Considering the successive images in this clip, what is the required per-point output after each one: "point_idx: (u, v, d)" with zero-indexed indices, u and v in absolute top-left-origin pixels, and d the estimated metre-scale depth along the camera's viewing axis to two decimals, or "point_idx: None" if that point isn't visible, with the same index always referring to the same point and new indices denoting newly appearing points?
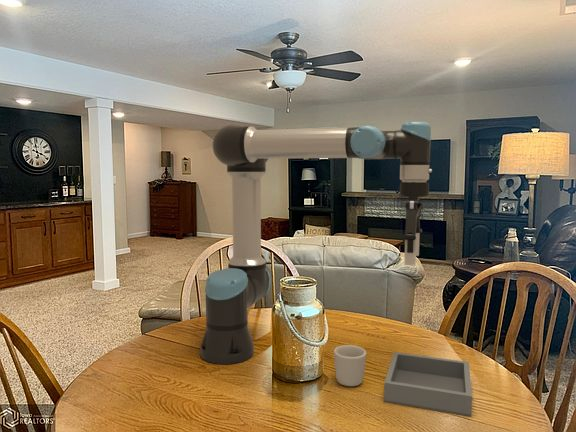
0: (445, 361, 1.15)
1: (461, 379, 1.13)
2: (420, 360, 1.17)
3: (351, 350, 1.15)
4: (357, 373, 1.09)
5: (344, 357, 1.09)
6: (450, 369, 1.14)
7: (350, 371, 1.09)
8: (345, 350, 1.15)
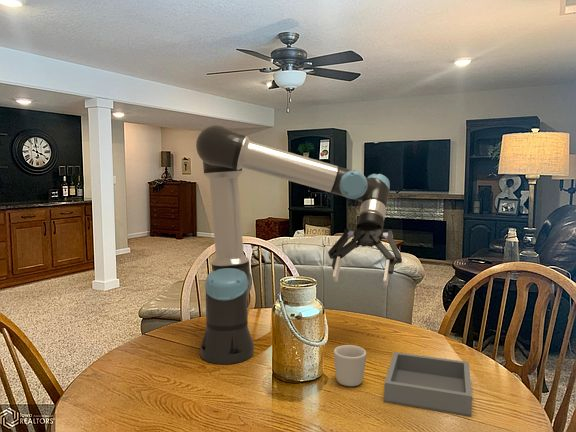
0: (445, 361, 1.15)
1: (461, 379, 1.13)
2: (420, 360, 1.17)
3: (351, 350, 1.15)
4: (357, 373, 1.09)
5: (344, 357, 1.09)
6: (450, 369, 1.14)
7: (350, 371, 1.09)
8: (345, 350, 1.15)
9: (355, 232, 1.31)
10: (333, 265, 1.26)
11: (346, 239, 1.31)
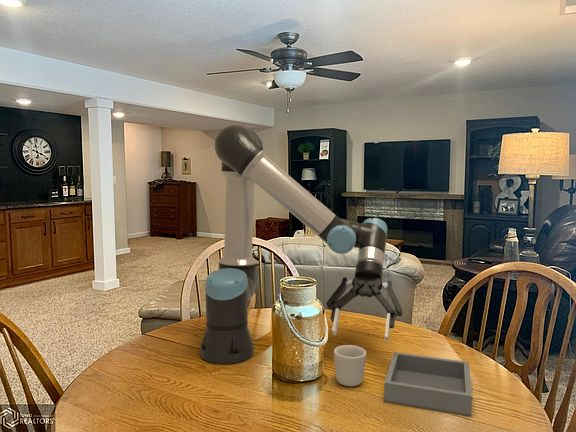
0: (445, 361, 1.15)
1: (461, 379, 1.13)
2: (420, 360, 1.17)
3: (351, 350, 1.15)
4: (357, 373, 1.09)
5: (344, 357, 1.09)
6: (450, 369, 1.14)
7: (350, 371, 1.09)
8: (345, 350, 1.15)
9: (354, 281, 1.27)
10: (332, 317, 1.22)
11: (344, 288, 1.28)
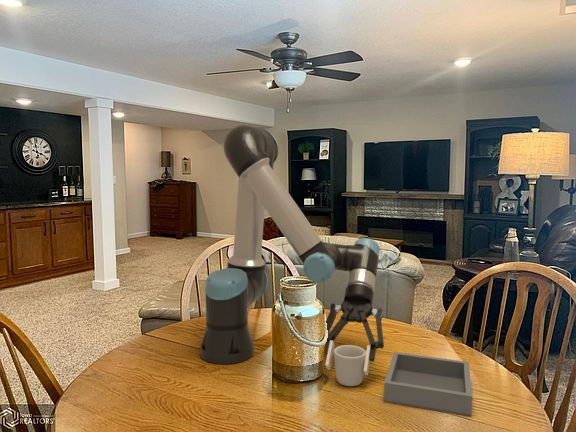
0: (445, 361, 1.15)
1: (461, 379, 1.13)
2: (420, 360, 1.17)
3: (351, 350, 1.15)
4: (357, 373, 1.09)
5: (344, 357, 1.09)
6: (450, 369, 1.14)
7: (350, 371, 1.09)
8: (345, 350, 1.15)
9: (343, 306, 1.21)
10: (325, 350, 1.15)
11: (334, 315, 1.21)
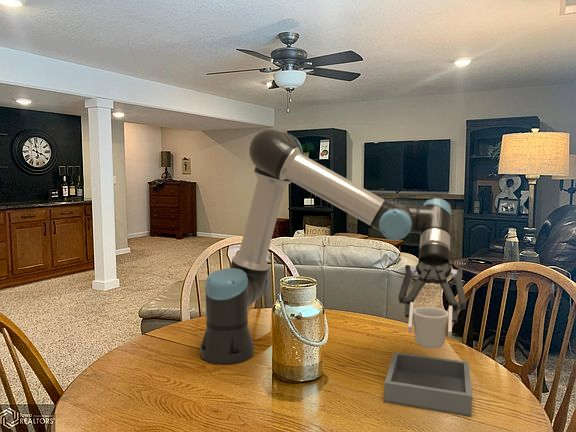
0: (445, 361, 1.15)
1: (461, 379, 1.13)
2: (420, 360, 1.17)
3: (430, 312, 1.09)
4: (440, 334, 1.03)
5: (427, 317, 1.02)
6: (450, 369, 1.14)
7: (433, 332, 1.02)
8: (423, 312, 1.09)
9: (418, 267, 1.14)
10: (406, 312, 1.08)
11: (410, 277, 1.14)
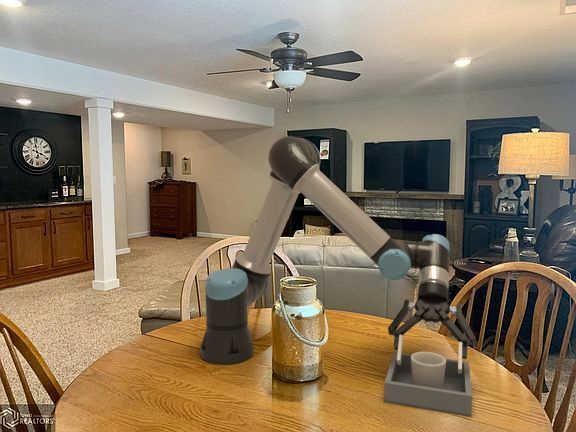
0: None
1: (461, 379, 1.13)
2: None
3: (428, 357, 1.10)
4: (438, 381, 1.04)
5: (424, 365, 1.03)
6: (450, 369, 1.14)
7: (431, 379, 1.03)
8: (421, 357, 1.10)
9: (417, 304, 1.15)
10: (395, 344, 1.10)
11: (406, 312, 1.16)
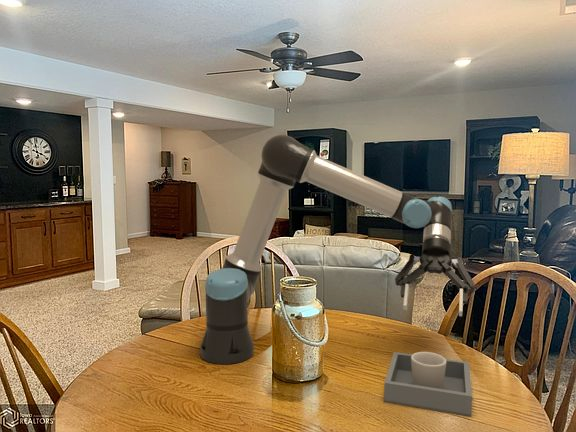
0: None
1: (461, 379, 1.13)
2: None
3: (428, 357, 1.10)
4: (438, 382, 1.04)
5: (424, 365, 1.03)
6: (450, 369, 1.14)
7: (431, 380, 1.03)
8: (421, 357, 1.10)
9: (422, 258, 1.26)
10: (402, 292, 1.21)
11: (412, 265, 1.27)
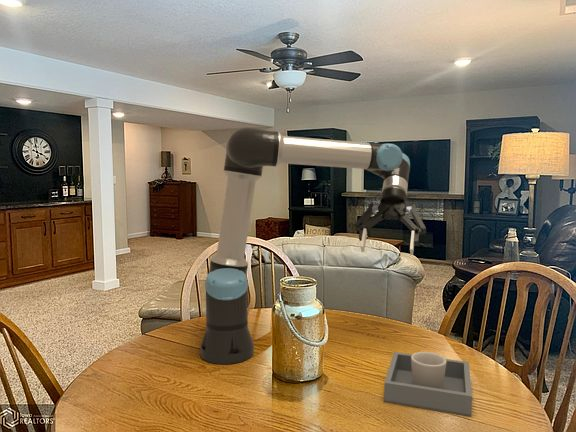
0: None
1: (461, 379, 1.13)
2: None
3: (428, 357, 1.10)
4: (438, 382, 1.04)
5: (424, 365, 1.03)
6: (450, 369, 1.14)
7: (431, 380, 1.03)
8: (421, 357, 1.10)
9: (379, 206, 1.37)
10: (360, 236, 1.32)
11: (371, 213, 1.38)
